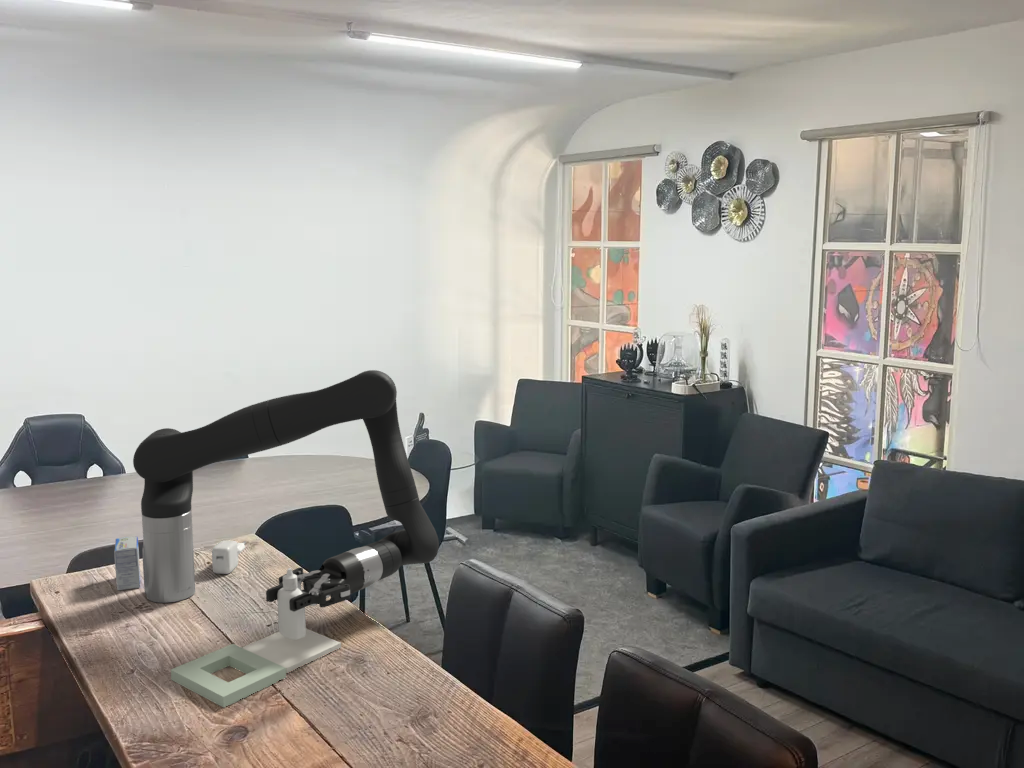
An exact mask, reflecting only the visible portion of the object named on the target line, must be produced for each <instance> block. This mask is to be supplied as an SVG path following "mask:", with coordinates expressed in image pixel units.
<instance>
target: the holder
mask: <svg viewBox="0 0 1024 768" xmlns="http://www.w3.org/2000/svg"><path fill="white" fill-rule="evenodd" d="M227 667H231V668H233V669H235V668H236V669H235V670H236V671H239V670H240V671H239V672H241V673H243V674H244V675H242V676H239V677H237V678H235V679H233V680H231V681H226V680H224V679H223V678H220V677H218V676H216V675H214V674H213V673H216V672H218V671H220V670H223V669H225V668H227ZM245 673H246V674H245ZM284 678H285V679H287V674H286V668H285V667H283V666H281V665H278V664H276V663H274V662H272V661H270V660H267V659H265V658H263V657H261V656H259V655H256V654H254V653H252V652H250V651H248V650H246V649H243V648H242V646H239V645H237V644H234V643H231V644H229V645H227V646H225V647H222V648H219V649H217V650H214V651H212V652H210V653H206V654H205V655H202V656H200V657H198V658H196V659H193V660H190V661H189V662H186V663H184V664H181V665H178V666H176V667H174V668H171V669H170V680H171V681H173V682H175V683H176V684H179V685H180V686H181V687H184V688H186V689H187V690H190V691H192V692H193V693H195V694H198V695H199V696H201V697H202V698H205V699H207V700H209V702H210V701H211V702H212V703H214V704H216V705H217V706H219V707H222V708H226V706H227V707H228V705H229V706H231V705H233V704H236V703H237V702H240V701H241V700H243V699H245V698H248V697H249V695H250V696H252V695H253V693H254V694H256V693H258V692H260V691H263V690H264V689H266V688H268V687H271V686H273V685H274V683H275V684H277V683H278V682H277V681H279V680H281V679H283V680H285V679H284ZM281 681H282V680H281ZM276 682H277V683H276ZM279 682H280V681H279ZM272 684H273V685H272ZM265 687H266V688H265ZM263 688H264V689H263ZM257 691H258V692H257ZM255 692H256V693H255ZM251 694H252V695H251ZM242 698H243V699H242ZM240 699H241V700H240Z"/></svg>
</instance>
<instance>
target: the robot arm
mask: <svg viewBox="0 0 1024 768" xmlns="http://www.w3.org/2000/svg"><path fill="white" fill-rule="evenodd" d="M397 393H398V392H397V386H396V384H395V381H394V380H393V379H392V378H391V376H389V374H387V373H385V372H383V371H382V370H381V371H379V370H376V369H375V370H374V369H372V370H371V369H370V370H365V371H362V372H360V373H358V374H356V375H354V376H352V377H349V378H348V379H345V380H343V381H340V382H337V383H336V384H333V385H329V386H327V387H324V388H322V389H318V390H314V391H313V390H312V391H308V392H301V393H295V394H294V393H293V394H288V395H284V396H279V397H275V398H271V399H267V400H264V401H261V402H257V403H254V404H251V405H248V406H246V407H243V408H241V409H238V410H235V411H234V412H231V413H229V414H227V415H225V416H222V417H220V418H219V419H216V420H215V421H212V422H211V423H209V424H206V425H204V426H201V427H199V428H194V429H191V430H187V431H184V432H181V431H180V430H177V429H174V428H169V427H168V428H161V429H157V430H155V431H154V432H152V433H150V434H149V435H148V436H147V437H146V438H145V439H144V440H143V441H141V443H139V445H138V446H137V448H136V449H135V452H134V455H133V459H132V464H133V468H134V471H135V472H136V474H137V475H139V476H140V477H141V478H142V479H143V480H144V485H143V486H144V487H143V492H142V497H141V501H140V508H141V522H142V523H141V524H142V525H141V526H142V542H143V543H142V544H143V546H142V548H141V553H142V554H141V555H142V556H141V557H142V573H143V574H142V575H143V588H144V591H143V592H144V593H145V595H146V598H147V600H149V601H150V602H154V603H161V604H162V603H164V604H165V603H166V604H167V603H174V602H180V601H184V600H185V599H189V598H190V597H193V595H195V593H196V578H195V577H196V575H195V573H196V571H195V556H194V554H195V553H194V552H195V551H194V550H195V549H194V534H193V533H194V531H193V514H192V513H193V512H192V510H193V509H192V499H193V493H194V473H193V472H194V471H196V470H198V469H202V468H203V467H206V466H209V465H212V464H215V463H219V462H223V461H227V460H228V461H229V460H232V459H236V458H237V459H238V458H240V457H244V456H249V455H253V454H256V453H259V452H264V451H267V450H270V449H274V448H277V447H281V446H284V445H287V444H290V443H292V442H295V441H298V440H301V439H303V438H305V437H308V436H310V435H312V434H314V433H316V432H318V431H321V430H323V429H326V428H328V427H331V426H335V425H339V424H343V423H349V422H354V421H359V420H362V421H363V423H364V426H365V427H366V431H367V433H368V437H369V440H370V444H371V449H372V452H373V453H372V454H373V460H374V466H375V472H376V478H377V482H378V487H379V491H380V495H381V498H382V502H383V506H384V510H385V513H386V516H387V517H388V519H389V520H392V521H396V522H399V523H400V524H401V526H402V527H403V529H400V530H396V531H393V532H391V533H389V534H387V535H386V536H384V537H383V538H381V539H379V540H378V541H375V542H371V543H368V544H366V545H363V546H361V547H360V546H359V547H356V548H352V549H350V550H348V551H345V552H342V553H339V554H337V555H334V556H331V557H329V558H327V559H325V560H324V561H323V562H322V564H321V566H320V567H319V569H317V570H311V571H309V572H304V568H302V567H296V568H295V569H292V572H293V574H295V575H297V585H298V587H297V588H298V589H300V590H301V592H302V593H303V594H301V595H298V596H296V597H293V598H291V599H290V601H289V605H290V610H291V611H293V612H295V611H297V610H299V609H302V608H304V607H305V608H306V607H309V606H311V607H315V606H317V605H318V606H319V607H320V608H326V607H328V606H332V605H333V606H334V605H335V604H339V603H341V602H345V601H348V600H350V599H351V595H353V594H354V593H356V592H359V591H362V590H364V589H365V588H369V587H370V586H371V585H373V584H375V583H376V582H379V581H381V580H383V579H386V578H389V577H390V576H392V575H393V574H396V572H398V570H399V569H400V567H403V566H406V565H407V566H408V565H419V564H420V565H421V564H428V563H431V562H432V561H434V559H436V557H437V556H438V553H439V548H440V546H439V545H440V543H439V542H440V541H439V537H438V534H437V531H436V528H435V527H434V525H433V524H432V522H431V520H430V517H429V516H428V515H427V513H426V510H425V509H424V507H423V506H422V504H421V501H420V496H419V494H418V493H419V492H418V490H417V486H416V481H415V478H414V475H413V471H412V467H411V465H410V461H409V458H408V456H407V453H406V450H405V446H404V441H403V438H402V433H401V428H400V423H399V417H398V407H397ZM286 574H287V573H285V574H283V575H282V576H279V577H278V585H275V586H273V587H270V588H268V589H266V592H265V598H266V601H267V602H268V603H273V602H276V601H277V593H278V591H279V589H281V588H283V576H284V575H286ZM302 585H303V586H302ZM328 598H330V599H328ZM327 599H328V600H327Z"/></svg>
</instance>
